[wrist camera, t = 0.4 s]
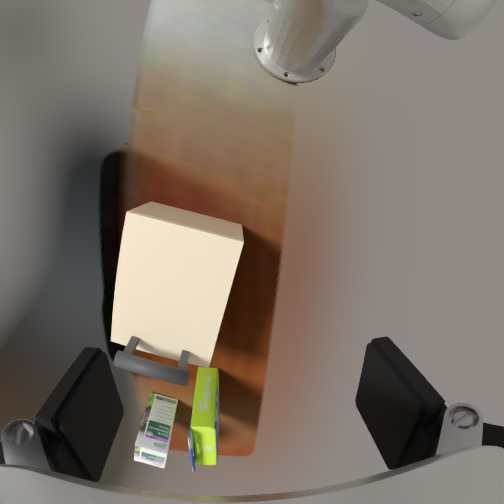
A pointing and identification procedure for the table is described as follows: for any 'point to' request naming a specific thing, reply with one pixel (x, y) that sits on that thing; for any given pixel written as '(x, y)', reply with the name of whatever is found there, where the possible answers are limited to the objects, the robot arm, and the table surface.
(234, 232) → the cream hinged door cabinet
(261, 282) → the table surface
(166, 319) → the cream panel with handle
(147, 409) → the syrup box
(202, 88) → the table surface
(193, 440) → the box
